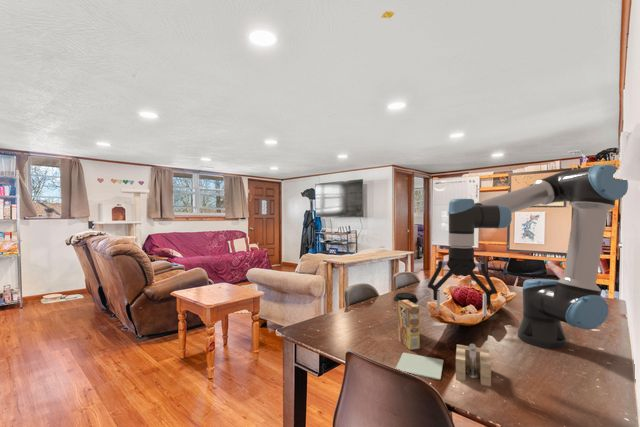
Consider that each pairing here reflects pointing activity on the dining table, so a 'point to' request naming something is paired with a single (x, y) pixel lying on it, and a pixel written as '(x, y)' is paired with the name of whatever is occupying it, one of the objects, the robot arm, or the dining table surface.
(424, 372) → the felt mat
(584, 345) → the dining table surface
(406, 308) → the candy box
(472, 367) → the stand
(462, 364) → the c link
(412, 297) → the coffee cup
